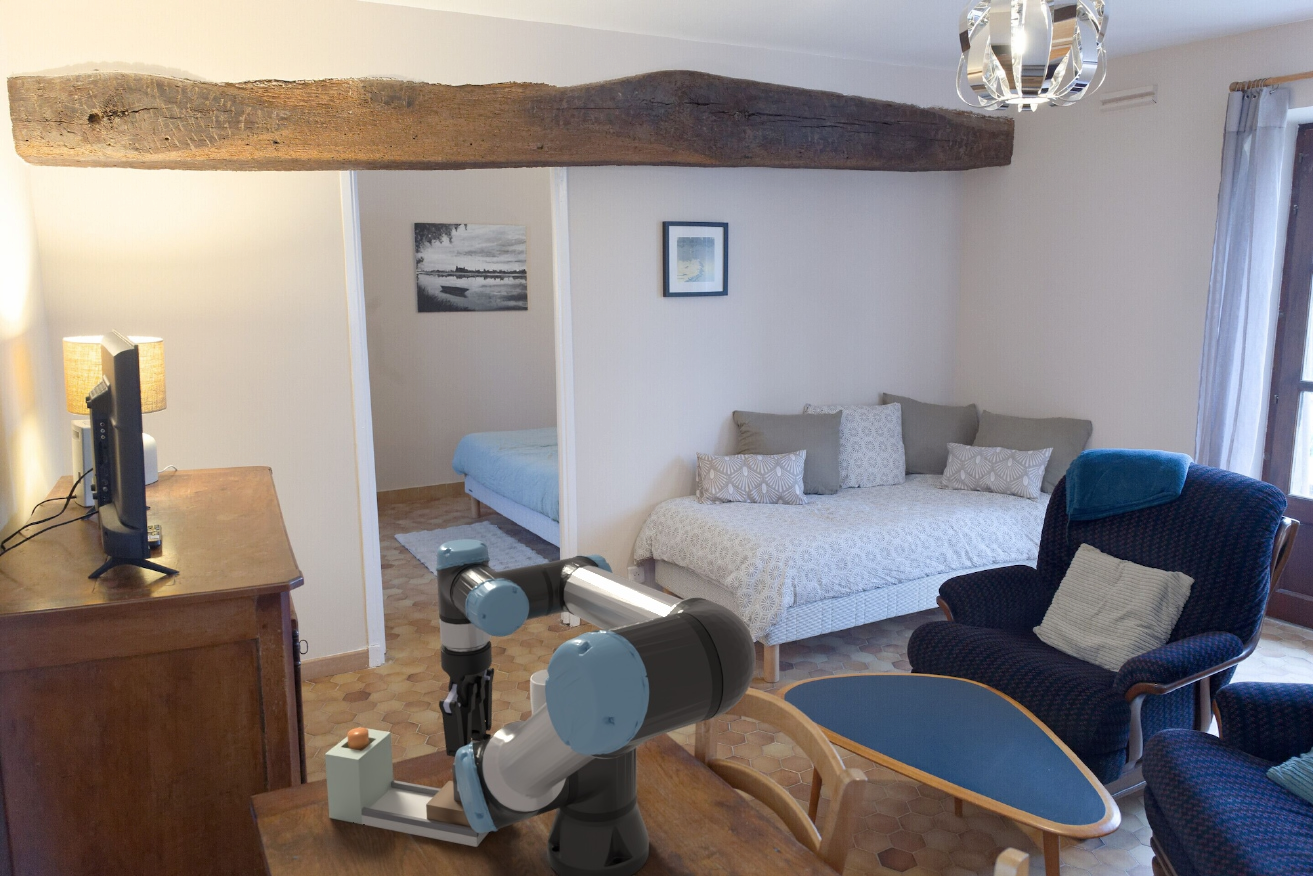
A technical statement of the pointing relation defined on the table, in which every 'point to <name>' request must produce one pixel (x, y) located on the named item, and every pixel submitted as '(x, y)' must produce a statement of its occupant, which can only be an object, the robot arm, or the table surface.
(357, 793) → the end cabinet
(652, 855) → the table surface
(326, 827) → the table surface
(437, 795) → the carriage
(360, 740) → the button
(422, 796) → the track
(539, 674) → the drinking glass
